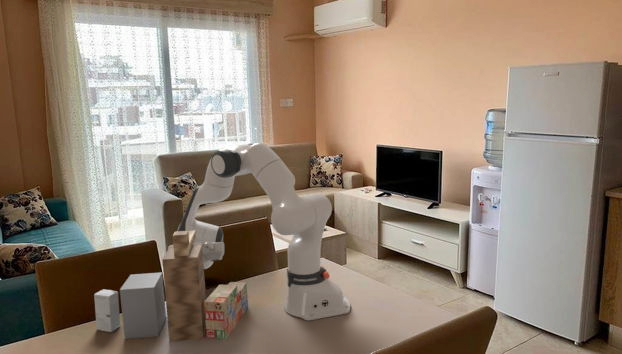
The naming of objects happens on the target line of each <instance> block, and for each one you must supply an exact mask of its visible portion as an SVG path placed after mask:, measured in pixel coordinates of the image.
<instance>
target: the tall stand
mask: <svg viewBox="0 0 622 354" xmlns="http://www.w3.org/2000/svg"><path fill="white" fill-rule="evenodd" d="M169 246H170V245H169ZM169 246H168V247H169ZM162 271H163V272H162V274H163V285H164V297H165V309H166V318H167V328H168V329H167V330H168V339H169V342H171V343H172V342H180V341H181V342H182V341H193V340H204V338H205V333H206V321H205V307H204V301H205V300H206V299H207V297H206V295H207V294H206V282H205V281H206V280H205V269H204V264H203V250H202V244H201V245H192V248H191V250H190V252H189V254H188V256H174V248H173V246H170V247H169V249H168V248H167V251H166V253H165V255H164V256H163V258H162Z"/></svg>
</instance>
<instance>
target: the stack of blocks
mask: <svg viewBox="0 0 622 354" xmlns="http://www.w3.org/2000/svg"><path fill="white" fill-rule="evenodd" d="M247 288H248V287H247V282H237V281H236V282H235V281H230V282H229V283H228V284H218V286H217V287H216V288H215V289H214V290H213V291H212V292H211V294H209V296H208V297H206V300H205V301H204V307H205V321H206V328H205V333H206V338H207V339H218V340H226V339H227V338H228V336H229V335H230V334H231V332H232V331H233V330H234V329H235V327H236V325H237V323H238V322H239V321H240V319H241V318H242V316H243V315H244V314H245V313H246V311H247V309H248V308H249V302H248V301H249V299H248V296H249V295H248V289H247Z"/></svg>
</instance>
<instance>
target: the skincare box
mask: <svg viewBox="0 0 622 354" xmlns="http://www.w3.org/2000/svg"><path fill="white" fill-rule="evenodd" d="M93 297H94V310H95V311H94V312H95V323H96V325H95V326H96V330H97V331H102V332H108V333H112V332H114V331H115V330H117V329H118V328H119V327H120V326H121V318H120V303H119V292H118V291H116V290H112V289H104V288H103V289H101V290H99V291H97V292H95V293H94V295H93Z"/></svg>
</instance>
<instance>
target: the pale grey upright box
mask: <svg viewBox="0 0 622 354" xmlns="http://www.w3.org/2000/svg"><path fill="white" fill-rule="evenodd" d="M119 295H120V304H121V305H120V307H121V315H122V324H123V333H124V339H125V340H126V339H129V340H131V339H139V338H150V337H159V336H160V334H161V331H162V328H163V326H164V323H165V321H166V318H167V310H166V298H165V286H164V275H163V272H161V271H160V272H148V273H135V274H129V276H128V278H127V279H126V280H125V282H124V283H123V284H122V286H121V287H120V288H119Z"/></svg>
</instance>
